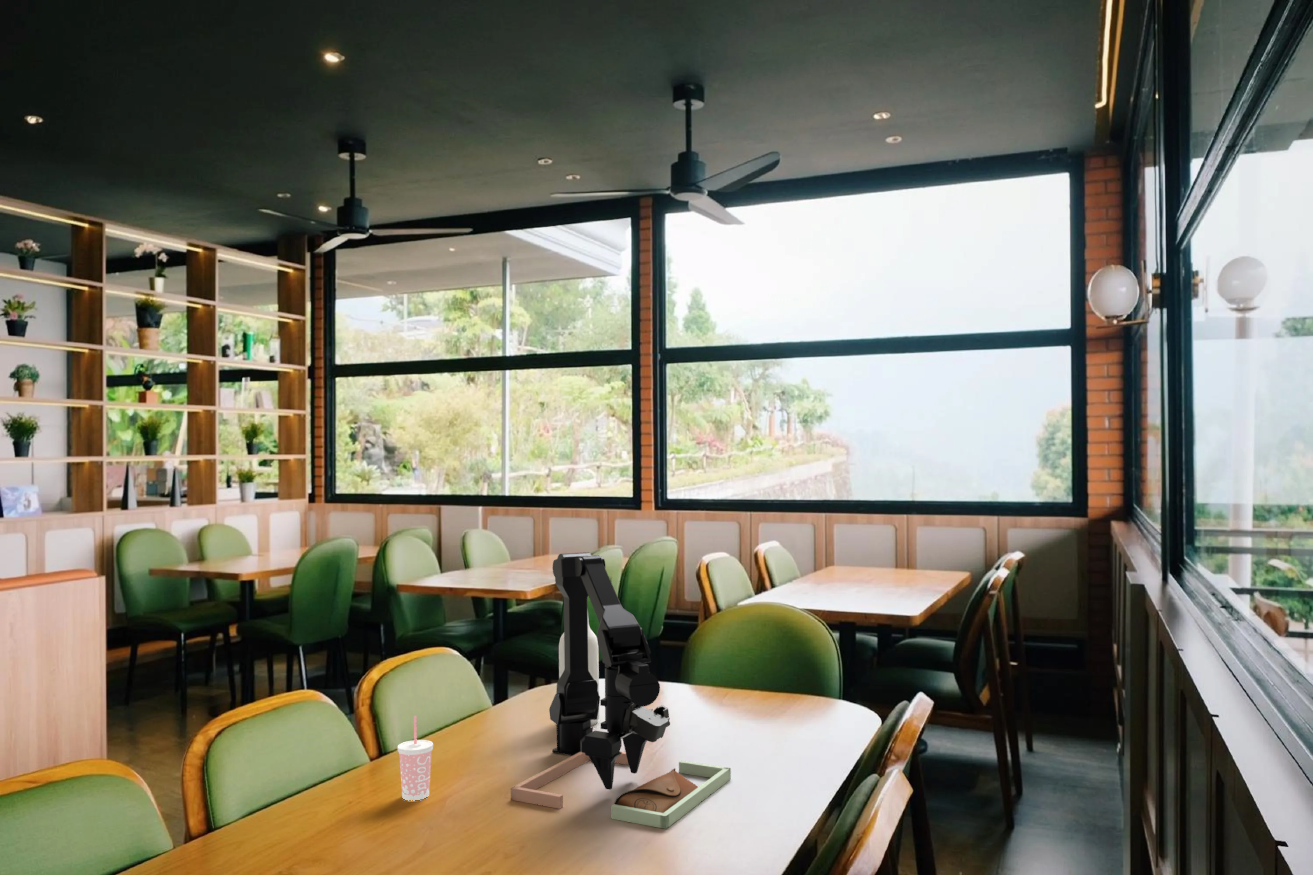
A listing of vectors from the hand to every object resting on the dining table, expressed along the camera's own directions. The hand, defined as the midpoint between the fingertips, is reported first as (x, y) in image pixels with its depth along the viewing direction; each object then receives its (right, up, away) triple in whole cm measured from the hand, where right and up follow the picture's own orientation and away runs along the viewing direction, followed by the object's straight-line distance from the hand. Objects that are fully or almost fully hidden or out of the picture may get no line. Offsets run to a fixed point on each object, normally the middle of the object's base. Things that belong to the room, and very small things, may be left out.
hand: (621, 780), depth 170 cm
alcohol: (-11, -3, +43) cm, 44 cm away
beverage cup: (-36, -2, -3) cm, 36 cm away
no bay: (-8, -2, +4) cm, 10 cm away
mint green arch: (+9, -1, -5) cm, 11 cm away
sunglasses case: (+7, -2, -8) cm, 11 cm away
